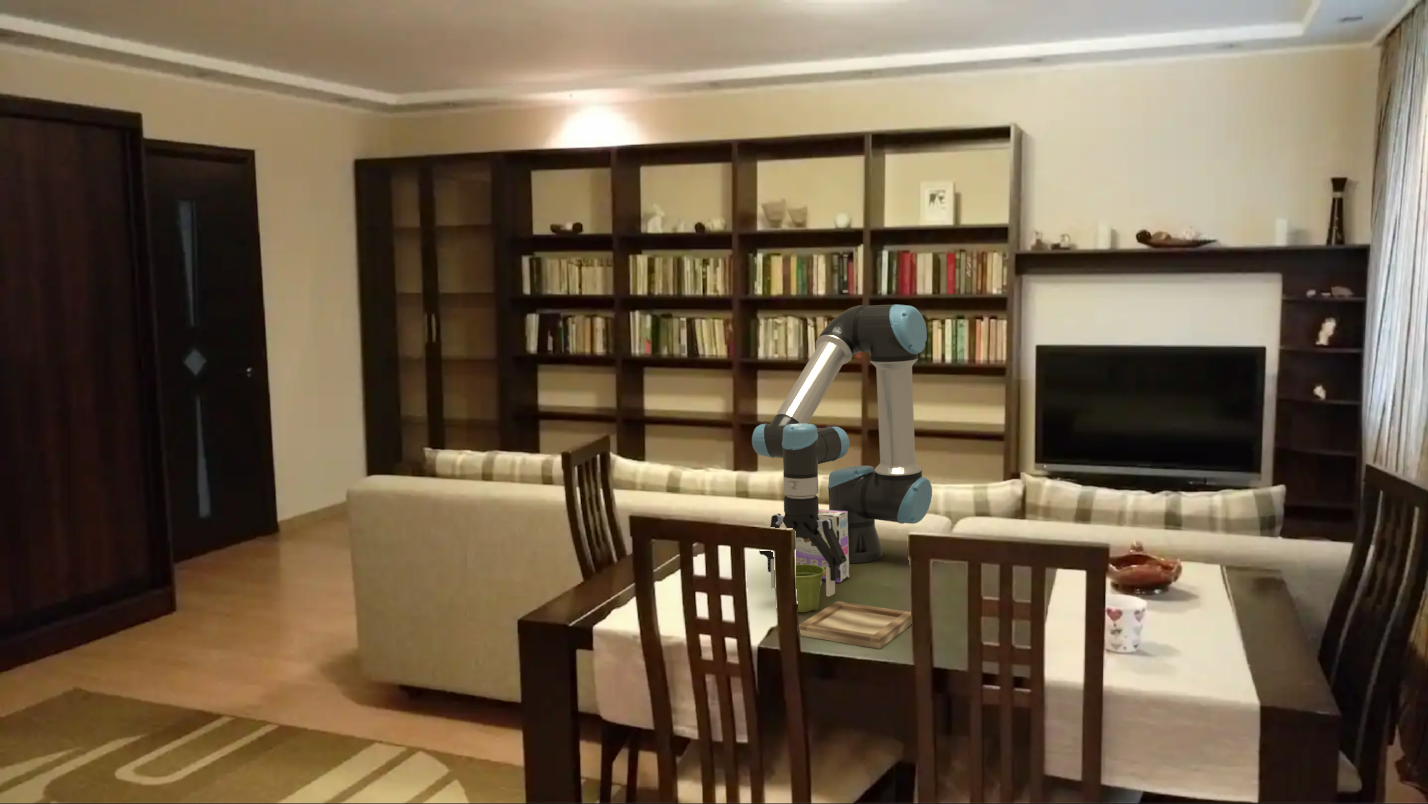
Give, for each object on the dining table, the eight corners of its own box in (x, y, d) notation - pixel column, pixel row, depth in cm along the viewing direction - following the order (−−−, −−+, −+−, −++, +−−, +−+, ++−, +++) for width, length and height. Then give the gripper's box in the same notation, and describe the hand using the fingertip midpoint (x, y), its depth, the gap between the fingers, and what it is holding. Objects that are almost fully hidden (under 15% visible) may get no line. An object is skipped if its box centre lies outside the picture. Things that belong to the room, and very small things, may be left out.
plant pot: (823, 615, 227) (822, 576, 226) (780, 614, 229) (778, 575, 228) (827, 602, 236) (826, 564, 235) (785, 601, 238) (784, 563, 237)
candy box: (850, 577, 255) (849, 510, 253) (839, 583, 250) (838, 515, 248) (799, 570, 262) (797, 505, 260) (788, 576, 257) (786, 510, 255)
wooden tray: (837, 609, 231) (836, 601, 230) (914, 621, 221) (914, 612, 221) (797, 634, 215) (797, 625, 215) (879, 648, 206) (879, 638, 206)
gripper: (742, 493, 233) (745, 587, 235) (845, 503, 220) (847, 602, 222) (760, 487, 240) (762, 579, 242) (860, 496, 226) (862, 593, 228)
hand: (802, 590), depth 232 cm, fingers open, 13 cm apart
